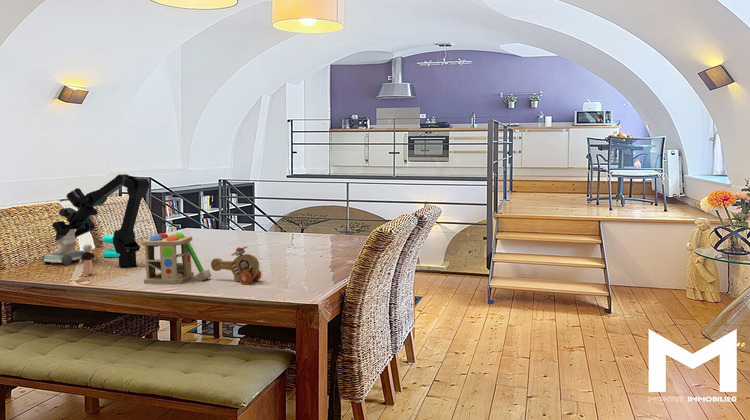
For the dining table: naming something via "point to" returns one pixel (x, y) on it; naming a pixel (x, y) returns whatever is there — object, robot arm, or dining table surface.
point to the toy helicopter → (240, 266)
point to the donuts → (109, 252)
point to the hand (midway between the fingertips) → (64, 238)
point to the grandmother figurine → (87, 260)
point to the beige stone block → (67, 243)
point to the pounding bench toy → (171, 259)
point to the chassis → (62, 257)
